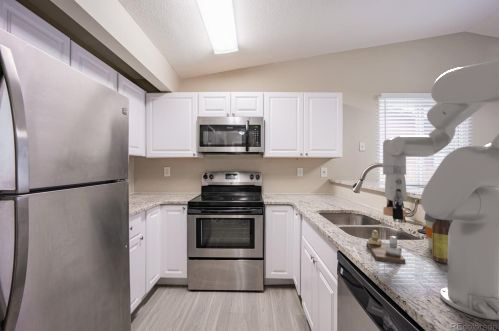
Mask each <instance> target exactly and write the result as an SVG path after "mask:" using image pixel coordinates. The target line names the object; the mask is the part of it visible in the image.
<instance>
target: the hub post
mask: <svg viewBox="0 0 499 331" xmlns="http://www.w3.org/2000/svg"><path fill="white" fill-rule="evenodd" d="M368 241H369V245H372V246H382V243H383V242H382V240H381V239H380V238H379V233H378V230H376V229H372V232H371V237H370V238H368Z"/></svg>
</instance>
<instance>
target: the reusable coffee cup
mask: <svg viewBox="0 0 499 331" xmlns="http://www.w3.org/2000/svg"><path fill="white" fill-rule="evenodd" d="M423 219H424V220H425V226H424V228H425V235H426V237H427V244H428V248H429V249H430V250H432V225H433V223H434V222H435V220H436V218H433V217H431V216H429V215H428V214H427V213H426V212H425V213H424V218H423ZM452 221H453V220H449V222H450V225H451V223H452Z"/></svg>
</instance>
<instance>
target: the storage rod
mask: <svg viewBox="0 0 499 331" xmlns="http://www.w3.org/2000/svg"><path fill="white" fill-rule="evenodd" d="M389 243H390V245H386V255H388V256H390V257H395V258H399V257H401V255H402V248H401V247H400V246H398V236H394V235H390V236H389Z"/></svg>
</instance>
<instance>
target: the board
mask: <svg viewBox="0 0 499 331" xmlns="http://www.w3.org/2000/svg"><path fill="white" fill-rule="evenodd" d="M366 245H367V247H368V249H369V250H370V251H371V252H370V253H372V256H373V257H374V258H375V261H379V262H380V261H381V262H388V263H395V264H396V263H397V264H406V259H405V257H404V256H403V255H402V254H401V257H399V258H395V257H390V256H388V255H386V245H390V242H388V243H387V242H382V246H372V245H369V240H367V241H366Z"/></svg>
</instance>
